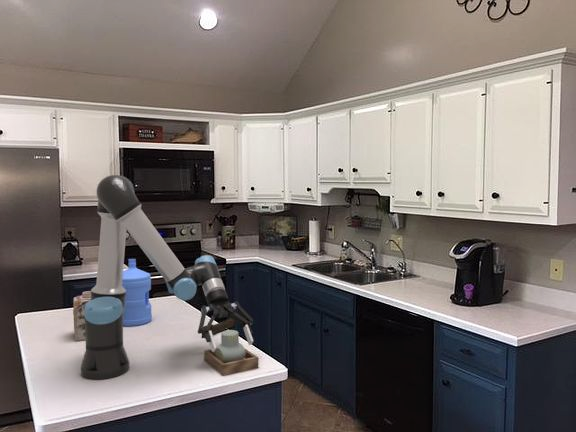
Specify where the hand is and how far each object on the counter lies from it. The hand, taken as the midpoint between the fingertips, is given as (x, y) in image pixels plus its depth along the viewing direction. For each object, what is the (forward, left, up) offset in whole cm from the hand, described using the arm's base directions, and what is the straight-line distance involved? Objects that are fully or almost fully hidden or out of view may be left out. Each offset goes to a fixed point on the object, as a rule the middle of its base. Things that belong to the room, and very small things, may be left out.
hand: (233, 346), depth 167 cm
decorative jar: (-36, +60, -7) cm, 70 cm away
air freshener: (0, +2, -6) cm, 6 cm away
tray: (0, +2, -7) cm, 7 cm away
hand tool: (+10, +37, -7) cm, 39 cm away
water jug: (-16, +71, -7) cm, 73 cm away
